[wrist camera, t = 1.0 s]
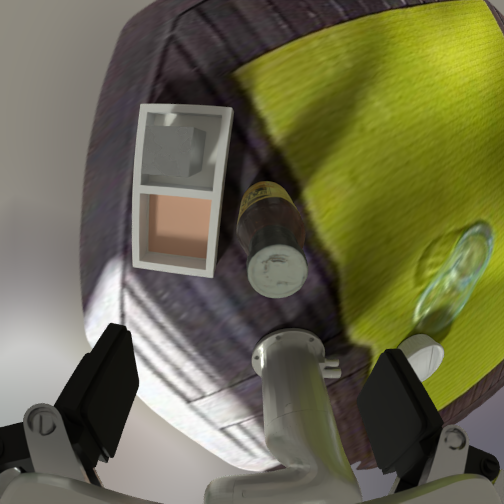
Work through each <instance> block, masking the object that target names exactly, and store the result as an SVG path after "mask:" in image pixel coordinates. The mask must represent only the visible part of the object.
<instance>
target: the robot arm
mask: <svg viewBox="0 0 504 504" xmlns="http://www.w3.org/2000/svg"><path fill="white" fill-rule="evenodd" d="M338 364H339V360H338V359H326V358H325V349H324V346H323V343H322V341H321V340H320V338H319V337H318V336H317V335H315V334H314V333H312V332H310V331H308V330H304V329H300V328H286V329H281V330H277V331H275V332H272V333H270V334H268V335H266V336H265V337H263V338H262V339H261V340H260V341H259V342H258V343H257V344H256V346H255V348H254V349H253V353H252V366H253V368H254V370H255V372H256V373H257V374H258V375H259V376H260V377H262V391H263V411H264V431H265V442H266V445H267V448H268V450H269V452H270V453H271V454H272V455H273V457H275V458H276V459H277V460H278V461H279V462H280V463H282V464H283V465H284V466H286V467H287V468H286V469H282V470H276V471H273V472H265V473H255V474H243V475H231V476H230V475H229V476H223V477H219V478H216V479H215V480H213V481H211V482H210V484H209V485H208V486H207V488H206V490H205V494H204V504H504V470H503V469H501V470H500V466H499V462H498V460H497V459H496V457H495V456H493V455H492V454H489V453H487V452H484V451H482V450H480V449H477V448H475V447H473V446H470V445H469V438H468V435H467V433H466V432H465V430H464V429H462V428H461V427H459V426H457V425H448V426H446V427H445V428H444V429H443V428H442V425H443V424H444V422H443V420H442V418H441V416H440V415H439V413H438V411H437V409H436V407H435V405H434V404H433V402H432V400H431V398H430V397H429V395H428V393H427V391H426V390H425V388H424V386H423V384H422V383H421V381H420V379H419V378H418V376H417V374H416V373H415V371H414V369H413V368H412V366H411V364H410V363H409V361H408V360H407V358H406V356H405V355H404V353H403V352H402V350H401V349H386V350H385V351H384V353H382V354H381V355H380V357H379V359H378V361H377V363H376V364H375V366H374V368H373V370H372V372H371V374H370V376H369V378H368V380H367V381H366V383H365V385H364V387H363V389H362V390H361V392H360V394H359V395H358V398H357V405H358V408H359V411H360V414H361V417H362V420H363V423H364V426H365V429H366V431H367V434H368V437H369V441H370V444H371V447H372V450H373V453H374V456H375V459H376V462H377V465H378V468H379V469H382V472H383V475H384V474H388V473H392V472H395V471H396V472H397V477H396V479H395V482H394V484H393V486H392V488H391V490H390V492H389V494H388V496H384V497H381V498H377V499H373V500H369V501H365V502H362V493H361V489H360V487H359V484H358V481H357V479H356V477H355V475H354V473H353V471H352V469H351V466H350V464H349V462H348V460H347V457H346V455H345V452H344V450H343V447H342V444H341V440H340V437H339V433H338V430H337V426H336V422H335V419H334V415H333V411H332V407H331V404H330V400H329V396H328V393H327V389H326V386H325V382H324V377H329V378H340V376H341V369H340V368H325V366H330V367H337V366H338ZM138 387H139V377H138V372H137V367H136V361H135V355H134V349H133V343H132V336H131V332H130V331H128V330H127V328H126V326H124V325H119V324H114V323H110V324H109V325H108V326H107V328H106V329H105V331H104V332H103V334H102V335H101V337H100V338H99V340H98V341H97V343H96V344H95V346H94V348H93V349H92V351H91V352H90V353H87V354H85V356H84V357H83V358H82V360H81V361H80V363H79V364H78V366H77V368H76V369H75V371H74V373H73V374H72V376H71V377H70V379H69V381H68V382H67V384H66V386H65V387H64V389H63V391H62V392H61V394H60V396H59V397H58V399H57V401H56V403H55V404H54V406H51V405H49V404H45V403H41V404H36V405H33V406H32V407H30V408H29V409H28V410H27V411H26V413H25V415H24V418H23V422H20V423H16V424H12V425H9V426H4V427H0V504H162V503H158V502H153V501H149V500H144V499H140V498H136V497H132V496H128V495H125V494H122V493H118V492H115V491H112V490H108V489H105V488H104V485H103V484H102V482H101V480H100V478H99V476H98V474H97V472H96V470H95V467H96V465H97V462H98V460H99V461H102V462H105V463H107V462H108V460H109V457H110V458H113V457H114V455H115V452H116V450H117V447H118V444H119V441H120V438H121V434H122V431H123V429H124V426H125V423H126V420H127V417H128V415H129V412H130V409H131V407H132V404H133V401H134V398H135V396H136V393H137V390H138Z"/></svg>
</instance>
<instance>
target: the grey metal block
mask: <svg viewBox="0 0 504 504" xmlns="http://www.w3.org/2000/svg"><path fill="white" fill-rule="evenodd" d="M205 139H206V132H205V131H203V130H200V129H197V128H194V127H178V126H146V128H145V137H144V147H143V159H142V172H141V174H149V175H164V176H177V177H190V176H192V175H194V174H196V173H198V172H200V171H202V164H203V155H204V147H205Z"/></svg>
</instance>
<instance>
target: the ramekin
mask: <svg viewBox="0 0 504 504" xmlns="http://www.w3.org/2000/svg"><path fill="white" fill-rule="evenodd" d="M397 349H401V350H402V352H403V353H404V355H405V356H406V358H407V360H408V361H409V363H410V364H411V366H412V368H413V369H414V371H415V373H416V374H417V376H418V378H419V379H420V381H421V382H422V381H424V380H426V379H427V378H428V377H430V376H431V375H432V374H433V373H434V372H435V371H436V369H437V368H438V367H439V365H440V364H441V362H442V359H443V356H444V349H443V347H442V346H441V345H440V344H439V343H437V342H435V341H434V340H433V339H432V338H431V337H429V336H428V335H425V334H417V335H414V336H411V337H409V338H407V339H406V340H405V341H403V342H402V343H401V344H400V345H399V346H398V347H397Z"/></svg>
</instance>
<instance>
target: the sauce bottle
mask: <svg viewBox="0 0 504 504" xmlns="http://www.w3.org/2000/svg"><path fill="white" fill-rule="evenodd" d="M236 232H237V238H238V241H239V243H240V244H241V246H242V247H243V249H244V251H245V252H246V254H247V256H248V258H247V277H248V280H249V282H250V284H251V285H252V287H253V288H254V289H255V290H256V291H257V292H259V293H260V294H261V295H264V296H266V297H270V298H281V297H287V296H289V295H292V294H293V293H295V292H296V291H298V290H299V289H300V288H301V287H302V285H303V284H304V282H305V280H306V278H307V275H308V264H307V260H306V257H305V254H304V251H303V250H302V248H303V245H304V241H305V228H304V223H303V222H302V220H301V216H300V214H299V212H298V210H297V208H296V207H295V205H294V203H293V202H292V200H291V198H290V196H289V195H288V193H287V192H286V190H285V189H284V188H283V187H281V186H280V185H278V184H277V183H275V182H272V181H260V182H258V183H256V184H254V185H252V186H251V187H250V188H248V190H247V191H246V192H245V194H244V195H243V198H242V201H241V206H240V211H239V217H238V222H237V230H236Z"/></svg>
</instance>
